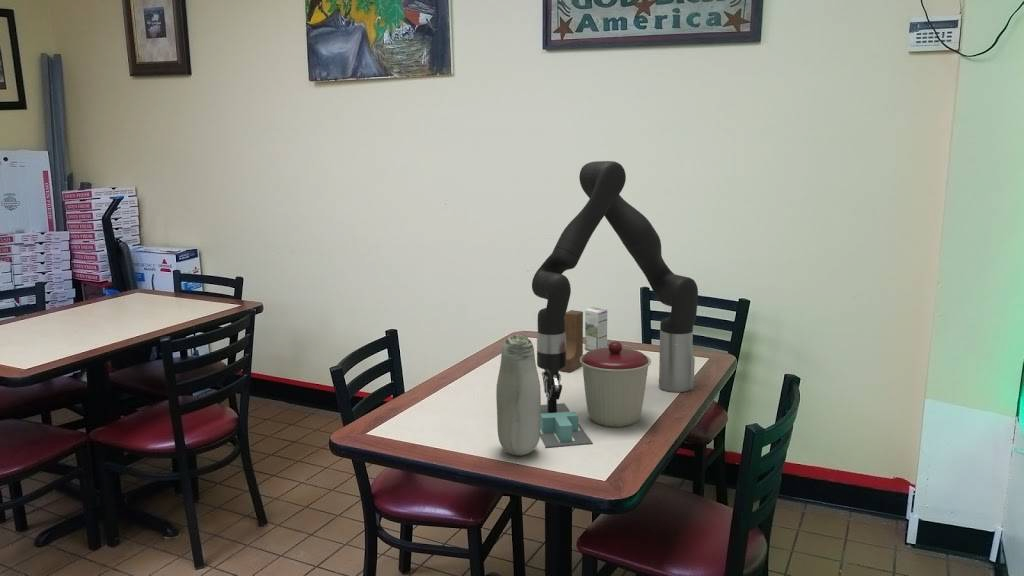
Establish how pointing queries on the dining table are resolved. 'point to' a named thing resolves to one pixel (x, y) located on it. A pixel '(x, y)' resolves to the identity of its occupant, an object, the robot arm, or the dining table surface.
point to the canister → (614, 384)
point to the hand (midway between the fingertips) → (552, 412)
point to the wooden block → (573, 340)
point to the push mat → (551, 438)
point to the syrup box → (595, 328)
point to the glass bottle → (518, 397)
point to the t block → (559, 424)
